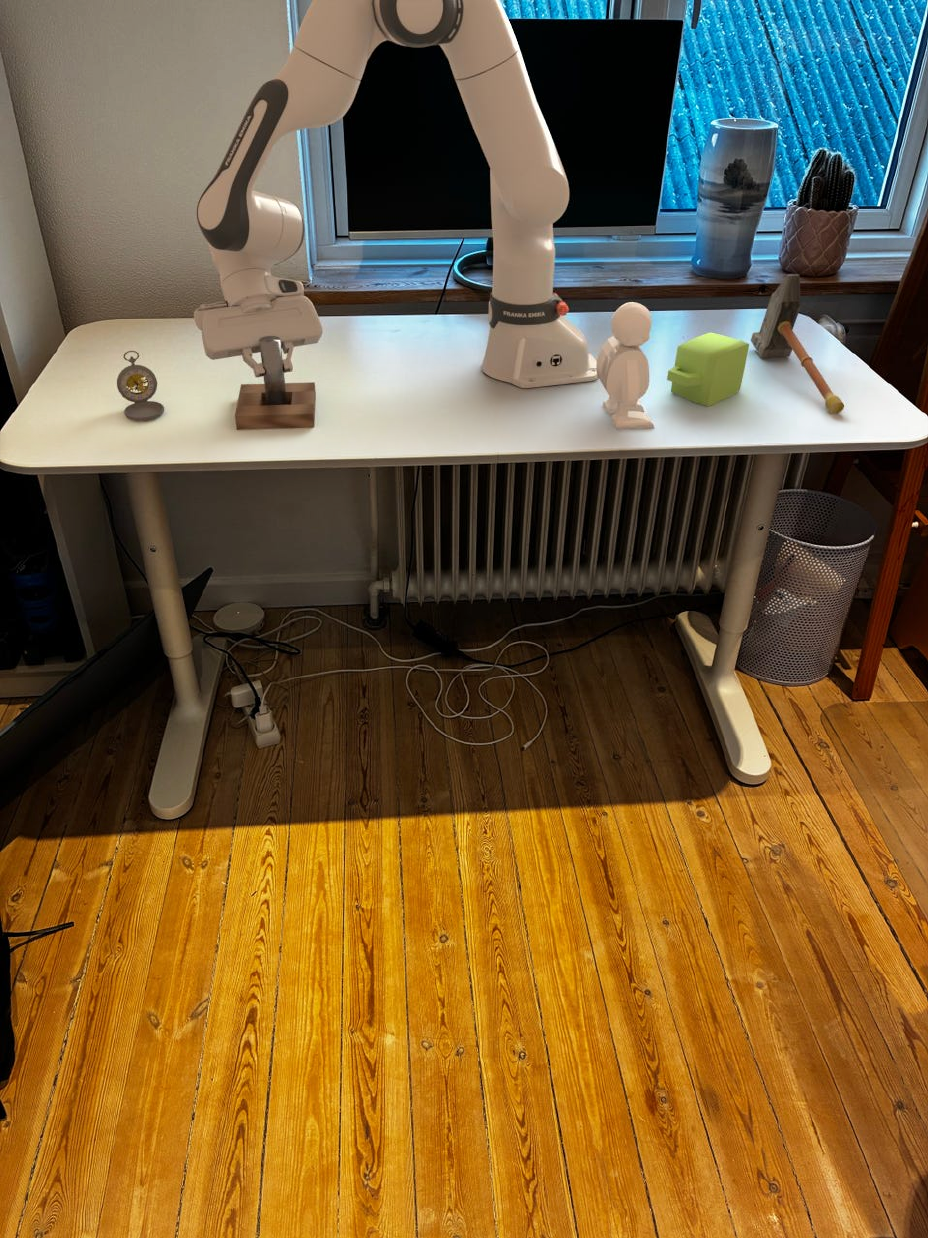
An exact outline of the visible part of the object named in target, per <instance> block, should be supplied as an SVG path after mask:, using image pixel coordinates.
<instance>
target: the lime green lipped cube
mask: <svg viewBox="0 0 928 1238" xmlns="http://www.w3.org/2000/svg"><path fill="white" fill-rule="evenodd" d="M749 349H750V343H748V342H746V341H742V340H740V339H737V338H733V337H730V336H726V335H723V334H719V333H714V332H707V333H704V334H702V335H699V336H696V337H694V338H692V339H690V340H688V341H686V342H683V343H681V344H679V345H677V349H676V354H675V361H674V366H673V367H672V368H670V369H668V370H667V376H666V380H667V381H669V382H671V386H670V387H671V389H670V392H671V393H673V394H675V395H677V396H680V397H682V398H684V399H686V400H689V401H691V402H693V403H695V404H699V405H701V406H704V407H705V406H706V407H711V406H712V405H715V404H717V403H719V402H721V401H723V400H725V399H727V398H729V397H731V396H733V395H734V394H736V393H738V392H739V391H741V388H742V382H743V377H744V373H745V367H746V363H747V359H748V353H749Z"/></svg>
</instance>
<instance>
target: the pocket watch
mask: <svg viewBox="0 0 928 1238" xmlns="http://www.w3.org/2000/svg"><path fill="white" fill-rule="evenodd" d="M128 353H134V354H136V355H137V357H136V358H134V356H130V358H126V356H127V354H128ZM139 358H140V354H139V352H137V351H136V350H128V351H126V352H125V353H124V354H123V359H124V360H125V361H128V363H131V365H130V364H129V365H128V366H126V367H124V368H123V369H121V371H120V372H119V374H118V375H117V379H116V388H117V390H118V393H119V394H120V396H121V397H122V398H124V399H125V400H127V401H128V402H132V404H130V405H129V404H128V405H127V406H126V407H125V408H124V410H123V413H124V416H125V417H126V418H128V419H129V420H133V421H137V422H139V421H149V420H153V419H157V418H158V417H160V416H162V415H163V414H164V412H165V406H164V405H163V404H162V403H160V402H158V401H154V400H151V401H150V399H151V398H152V397H153V396H154V395H155V394H156V392H157V388H158V381H157V377H156V375H155V374H154V372H153V371H152V370H151V369H150V368H149V367H147V366H145V365H141V364H136V363H135V362H137V360H138V359H139ZM146 384H147V385H146ZM136 391H137V392H136ZM148 400H149V401H148Z"/></svg>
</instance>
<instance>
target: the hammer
mask: <svg viewBox="0 0 928 1238" xmlns="http://www.w3.org/2000/svg"><path fill="white" fill-rule="evenodd" d="M800 276H801V275H800V274H799V273H788V274H786V276H785V277H784V279H783V280H782V282H780V284H779V286H778V287H777V288H776V290H775V291H774V292H772V294H771V295H770V299H769V301H768V304H767V308H766V311H765V314H764V317H763V320H762V322H761V326H760V329H759V331H756V332H752V335H751V338H750V341H751V344H752V345H753V347H754V348H755V351H756V352H757V353H758V355H759V357H760V358H761V360H763V359H776V358H777V359H778V358H779V359H781V358H782V359H783V358H789V357H790V355H792V352H793V353H794V354H795V356H796V358H797V359H798V360H799V362H800V366H801V367H802V368H803V369H804V370H805V371H806V373H807V375H808V376H809V377H810V379H811V380H812V382H813V383H814V385H815V387H816V388H817V390H818V391H819V393H820V394H821V396H822V398H823V399H824V406H825V407H826V409H827V411H828V412H829V414H831V415H833V414H835V415H836V414H839V413H841V412H842V411H843V410H844V409H845V404H844V402H843V401H842V399H841V398H840V397H839V396H837V395H835V394H834V392H833V391H832V390H831V388H830V386H829V385H828V383H827V382H826V380H825V379H824V377H823V376H822V374H821V373H820V371H819V369H818V368H817V367H816V365H815V363H814V361H813V358H812V357H810V356H809V354H808V352H807V351H806V349H805V348H804V346H803V345H802V342H800V340H799V338H798V336H797V335H796V334H795V333H794V330H793V329H794V326H795V324H796V321H797V318H798V316H799V312H800V310H801V307H802V302H801V279H800Z"/></svg>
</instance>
